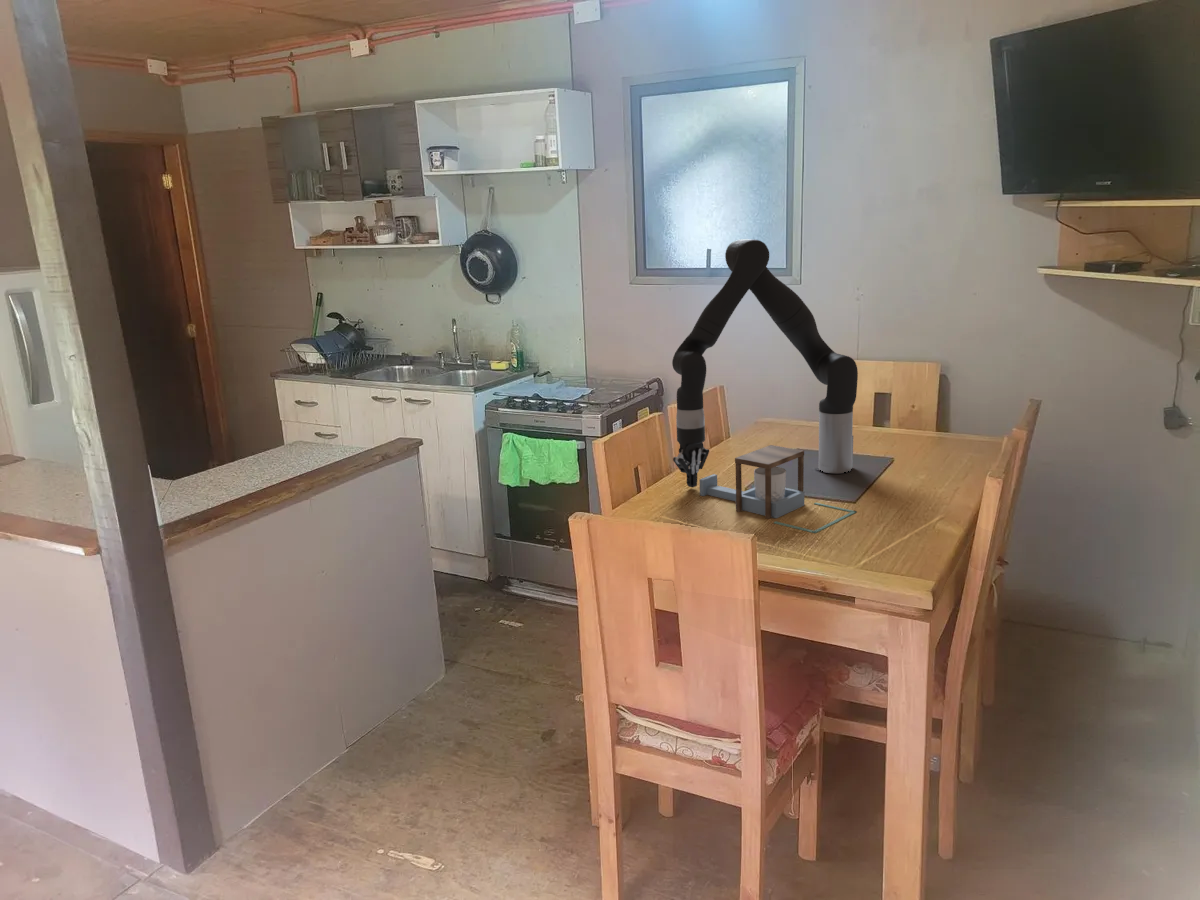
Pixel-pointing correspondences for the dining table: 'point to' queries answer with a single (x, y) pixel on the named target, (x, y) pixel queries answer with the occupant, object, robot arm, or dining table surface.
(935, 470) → the dining table surface
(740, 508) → the small brown wooden table
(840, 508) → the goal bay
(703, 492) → the sled frame
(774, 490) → the white cup
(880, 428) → the dining table surface
